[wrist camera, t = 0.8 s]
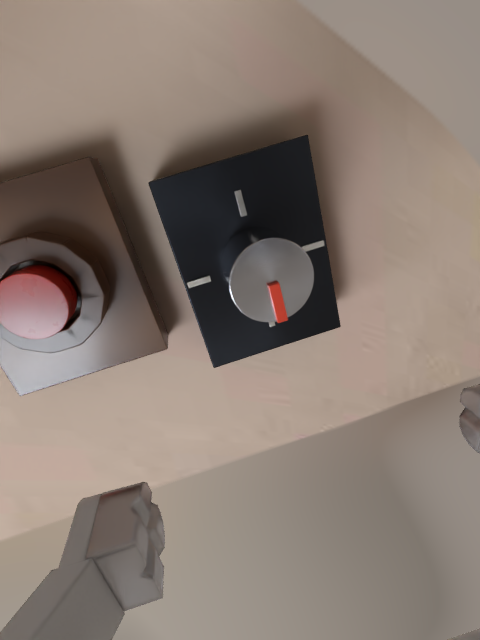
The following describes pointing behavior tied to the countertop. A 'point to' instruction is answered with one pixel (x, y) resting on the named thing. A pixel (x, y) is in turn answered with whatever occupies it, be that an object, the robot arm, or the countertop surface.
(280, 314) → the dial
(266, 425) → the countertop surface
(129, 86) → the countertop surface
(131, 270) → the button box
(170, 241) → the dial panel
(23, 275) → the red button
